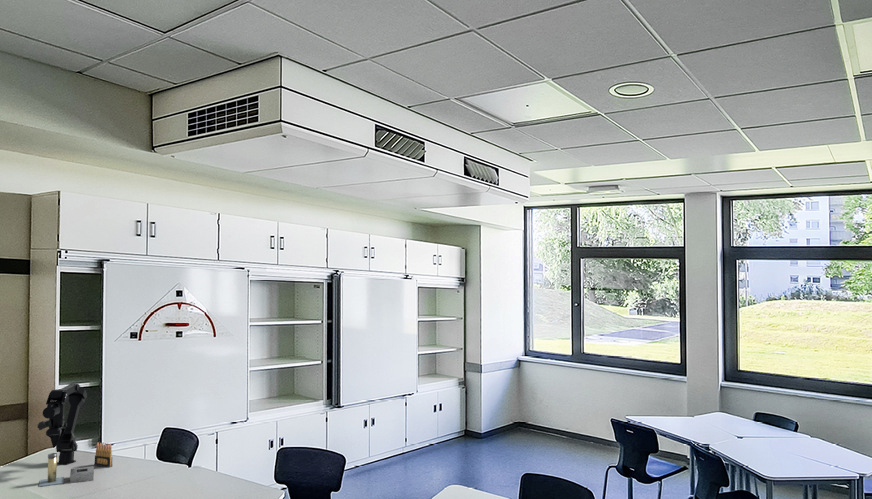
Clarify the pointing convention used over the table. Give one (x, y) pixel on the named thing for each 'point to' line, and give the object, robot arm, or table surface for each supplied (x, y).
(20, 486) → the table surface
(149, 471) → the table surface
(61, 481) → the rubber mat
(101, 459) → the ammunition clip
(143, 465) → the table surface
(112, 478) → the table surface
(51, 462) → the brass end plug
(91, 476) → the metal housing
